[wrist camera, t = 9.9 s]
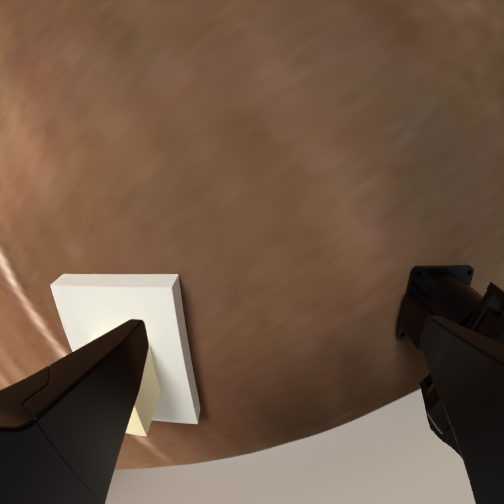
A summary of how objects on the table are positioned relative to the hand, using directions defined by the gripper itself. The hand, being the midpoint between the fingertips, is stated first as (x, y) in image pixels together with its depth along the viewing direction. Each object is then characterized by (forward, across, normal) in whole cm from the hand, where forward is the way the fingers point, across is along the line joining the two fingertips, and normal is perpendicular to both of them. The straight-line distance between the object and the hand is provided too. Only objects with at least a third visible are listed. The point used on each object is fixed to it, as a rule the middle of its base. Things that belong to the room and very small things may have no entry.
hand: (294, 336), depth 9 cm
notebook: (+12, +11, +11) cm, 20 cm away
